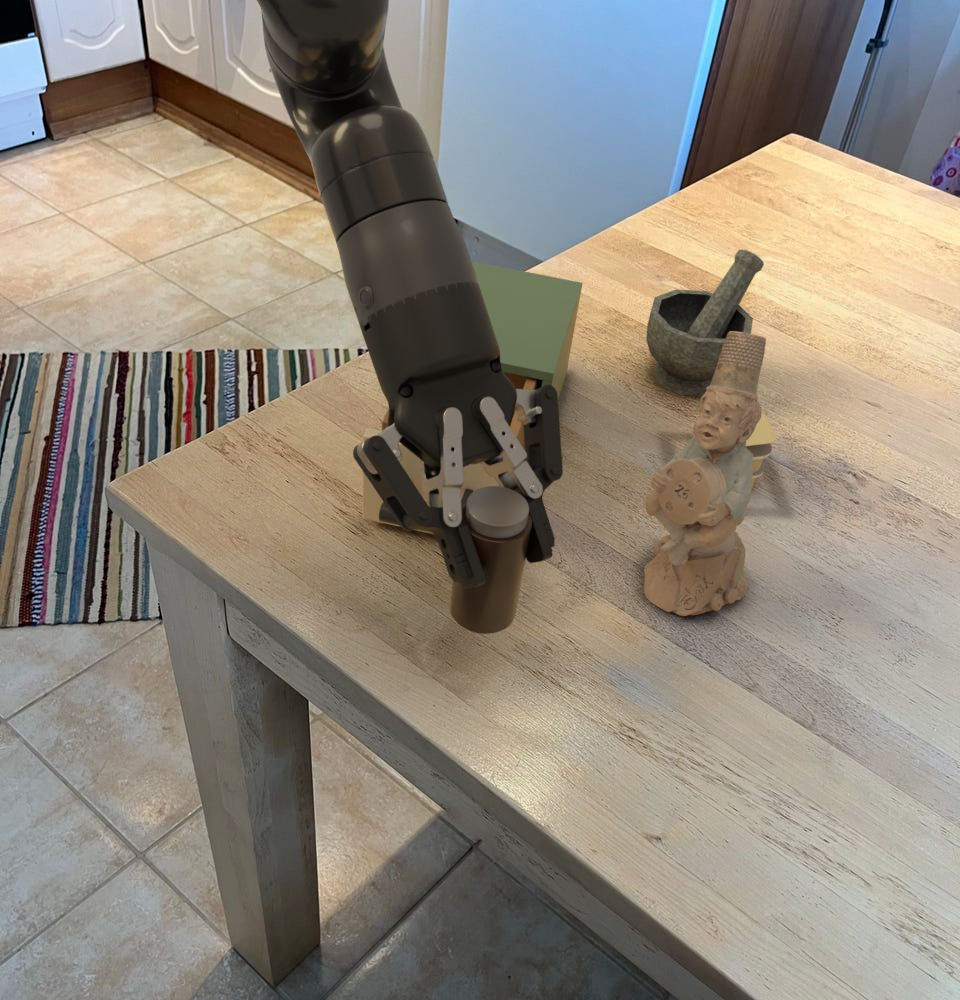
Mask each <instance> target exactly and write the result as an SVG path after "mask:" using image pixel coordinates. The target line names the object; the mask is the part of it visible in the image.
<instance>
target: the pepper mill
mask: <svg viewBox="0 0 960 1000" xmlns="http://www.w3.org/2000/svg"><path fill="white" fill-rule="evenodd" d="M461 524H462V526H465V525H468V526H469V529H470V532H471V535H472V538H473V541H474V544H475V547H476V550H477V553H478V556H479V559H480V562H481V565H482V568H483V571H484V574H485V578H486V582H485V584H482V585H480V586H477V587H475V588H469V589H464V588H463V587H462V586H461V584H460V582H454V581H453V580H452V586H451V593H450V594H451V595H450V602H449V611H450V612H449V613H450V615H451V617H452V619H453V620H454V621H455V623H457V624H458V625H459V627H462V629H465V630H467V631H468V632H472V633H475V634H481V635H488V634H489V635H491V634H495V633H499V632H503V631H504V630H506V629H508V627H510V626H511V625H512V623H513V622H514V620H515V618H516V613H517V607H518V602H519V596H520V590H521V586H522V580H523V575H524V569H525V564H526V560H527V559H526V553H527V548H528V542H529V537H530V531H531V526H532V520H531V516H530V514H529V506H528V503H527V501H526V500H525V498H524V497H523V496H522V495H520V494H519V493H517V492H516V491H514V490H511V489H509V488H505V487H499V486H488V487H483V488H480V489H478V490H476V491H474V492H473V493H472V494H471V495H470V496H469V497H468V499H467V503H466V505H465V506H464V507H463V508H462V521H461Z"/></svg>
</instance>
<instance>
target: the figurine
mask: <svg viewBox="0 0 960 1000" xmlns="http://www.w3.org/2000/svg"><path fill="white" fill-rule="evenodd" d="M766 344H767V338H766V337H764V336H761V335H757V334H753V333H751V334H749V333H744V332H737V331H736V332H735V331H730V332H728V334H727V337H726V339H725V342H724V345H723V347H722V351H721V353H720V357H719V360H718V364H717V367H716V370H715V373H714V376H713V378H712V381H711V383H710V386H708V387H707V388H706V392H705V394H703V395H701V396H700V399H699V404H700V405H699V407H700V410H699V412H700V413H699V415H698V417H697V419H696V421H695V422H694V424H693V428H692V433H693V435H692V438H691V439H689V441H688V442H687V443H686V444H685V445H684V446H683V447H682V448H681V449H680V450H679V451H677V452H675V454H674V455H673V458H672V459H670V460H669V461H668V462H667V463H666V464H664V466H662V467H661V468H660V469H659V470H656V471H655V473H654V474H653V476H652V479H651V485H650V486H651V488H652V489H653V490H652V491H651V492H650V493H649V494H648V495H647V496H646V498H645V511H646V513H647V514H648V515H649V516H650V517H653V516H654V517H655V519H656V520H658V522H659V523H660V524H661V525H662V526H663V528H664V529H666V531H668V533H669V534H668V535H666V536H663V537H662V538H661V539H660V540H659V542H658V545H656V546H655V547H654V550H653V553H654V555H655V557H653V558H652V559H651V560H650V561H648V562H647V563H646V564H645V566H644V569H643V573H644V583H643V593H644V596H645V598H646V599H647V600H648V601H649V602H650V603H651V604H652V605H654V606H656V607H658V609H661V610H663V611H665V612H667V613H672V612H673V613H674V614H676V615H678V616H680V617H685V616H697V615H701V614H705V613H706V612H712V611H714V612H718V611H720V610H721V609H722V607H723V606H725V605H727V604H733V603H735V602H736V601H740V600H741V599H742V598H744V596H745V595H746V593H748V590H749V587H750V586H749V584H748V578H747V575H746V572H745V570H744V569H745V560H746V548H745V545H744V543H743V541H742V539H741V538H740V536H739V534H738V532H736V530H737V527H738V526H740V525H741V524H742V523H743V522H744V520H745V517H747V516H748V504H749V502H750V499H751V494H752V489H751V485H752V477H753V466H752V465H753V453H751V452H750V451H749V450H748V449H747V448H746V447H745V446H746V440H748V439H749V438H750V436H751V435H752V433H753V432H754V430H755V428H756V424H757V423H758V422H759V420H760V418H761V414H762V411H763V409H762V405H761V403H760V402H759V401H758V399H759V396H758V395H757V393H758V387H759V386H758V385H759V380H760V375H761V369H762V366H763V362H764V356H765V352H766ZM761 409H762V410H761Z"/></svg>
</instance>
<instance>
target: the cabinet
mask: <svg viewBox="0 0 960 1000" xmlns="http://www.w3.org/2000/svg"><path fill="white" fill-rule="evenodd" d="M471 262H472V265H473V268H474V270H475V273H476V277H477V280H478V283H479V287H480V290H481V293H482V296H483V299H484V302H485V305H486V308H487V311H488V314H489V318H490V321H491V324H492V327H493V330H494V333H495V336H496V339H497V342H498V345H499V349H500V362H501V368H502V370H503V372H506V373H511V374H516V375H521V376H526V377H531V378H536V379H539V385H538V389H539V388H541V387H543V386H545V385H551V386H553V387H554V388H555V389H556V391H557V397H558V401H559V399H560V396H561V394H562V389H563V387H564V382H565V380H566V377H567V371H568V366H569V360H570V355H571V350H572V346H573V345H572V344H573V340H574V339H573V338H574V334H575V328H576V323H577V316H578V311H579V305H580V299H581V296H582V295H581V293H582V288H583V282H580V281H575V280H571V279H565V278H560V277H555V276H550V275H545V274H539V273H535V272H531V271H530V272H529V271H524V270H520V269H515V268H510V267H504V266H499V265H494V264H490V263H489V264H488V263H484V262H479V261H473V260H471Z"/></svg>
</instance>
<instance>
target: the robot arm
mask: <svg viewBox="0 0 960 1000" xmlns="http://www.w3.org/2000/svg"><path fill="white" fill-rule="evenodd" d="M256 2H257V3H258V6H259V8H260V11H261V22H262V23H261V24H262V35H263V43H264V48H265V53H266V57H267V61H268V64H269V67H270V70H271V73H272V76H273V79H274V82H275V85H276V88H277V91H278V93H279V95H280V98H281V100H282V103H283V106H284V108H285V110H286V112H287V114H288V117H289V119H290V121H291V123H292V126H293V128H294V131H295V133H296V135H297V136H298V138H299V141H300V144H301V145H302V147H303V149H304V151H305V153H306V155H307V157H308V159H309V161H310V164H311V167H312V171H313V175H314V180H315V184H316V187H317V190H318V194H319V198H320V199H321V202H322V205H323V208H324V211H325V214H326V217H327V220H328V223H329V225H330V229H331V232H332V235H333V238H334V241H335V243H336V248H337V251H338V254H339V259H340V263H341V269H342V274H343V278H344V282H345V287H346V290H347V293H348V296H349V299H350V301H351V305H352V307H353V310H354V313H355V316H356V319H357V322H358V325H359V328H360V330H361V333H362V336H363V340H364V343H365V346H366V349H367V352H368V354H369V357H370V360H371V364H372V367H373V369H374V372H375V375H376V378H377V380H378V384H379V387H380V390H381V392H382V393H383V395H384V397H385V399H386V401H387V405H388V409H389V415H388V427H387V428H386V429H384V430H383V431H382V430H381V432H380V433H378V434H377V435H376V436H372V437H370V438H368V439H366V440H364V441H363V440H362V441H361V442H359V444H357V445H355V446H354V448H353V450H352V455H353V459H354V460H355V462H356V463H357V464H358V466H359V468H360V469H361V471H362V473H363V472H364V474H365V475H366V477H367V478H368V479H369V481H370V482H371V484H372V485H373V487H374V488H375V490H376V491H377V493H378V494H379V496H380V497H381V499H382V500H383V502H384V503H385V505H386V506H387V508H388V509H389V511H390V512H391V514H392V515H393V517H394V518H395V520H396V521H397V522H398V524H399V525H400V527H399V528H401V529H402V530H403V531H406V532H411V531H417V530H428V531H430V532H432V533H433V534H432V535H434V536H435V538H436V540H437V543H438V547H439V549H440V552H441V555H442V559H443V560H444V564H445V567H446V570H447V573H448V576H449V577H450V578H451V580H452V582H453V581H454V582H460V584H461V586H462V587H463V588H464V589H469V588H475V587H477V586H480V585H482V584H485V582H486V578H485V574H484V571H483V568H482V565H481V562H480V559H479V556H478V553H477V550H476V547H475V544H474V541H473V538H472V535H471V532H470V529H469V526H468V525H465V526H462V524H461V521H462V508H461V487H462V485H463V482H464V475H463V467H465V466H468V465H469V464H478V463H481V465H482V466H483V468H484V469H485V471H486V472H487V474H488V475H489V476H491V477H493V478H495V479H496V481H497V482H498V484H499V485H500V487H505V488H509V489H511V490H514V491H516V492H517V493H519V494H520V495H522V496H523V497H524V498H525V500H526V501H527V503H528V506H529V514H530V516H531V520H532V526H531V531H530V537H529V542H528V548H527V553H526V559H525V560H527V562H528V563H530V564H534V563H540V562H544V561H546V560H549V559H551V558H552V557H553V554H554V553H553V547H555V538H556V537H555V534H554V532H553V529H552V526H551V523H550V520H549V516H548V513H547V510H546V507H545V503H544V499H543V497H544V496H543V495H544V492H545V491H546V489H547V488H549V486H551V485H552V484H553V483H554V482H555V481H558V480H560V479H561V478H562V476H563V473H564V471H563V456H562V441H561V428H560V427H561V426H560V413H559V400H558V397H557V391H556V389H555V388H554V387H553V386H551V385H545V386H543V387H541V388H539V389H537V390H530V389H515V386H514V385H513V383H512V382H511V381H510V380H509V379H508V378H507V376H506V375H505V374H504V372H503V370H502V368H501V362H500V349H499V345H498V342H497V339H496V336H495V333H494V330H493V327H492V324H491V321H490V318H489V314H488V311H487V308H486V305H485V302H484V299H483V296H482V293H481V290H480V287H479V283H478V280H477V277H476V273H475V270H474V268H473V265H472V262H471V261H472V259H471V255H470V253H469V249H468V247H467V244H466V241H465V239H464V237H463V234H462V232H461V230H460V228H459V226H458V223H457V222H456V220H455V218H454V214H453V212H452V209H451V207H450V205H449V201H448V198H447V195H446V192H445V189H444V186H443V183H442V180H441V176H440V173H439V170H438V167H437V164H436V162H435V161H436V160H435V158H434V155H433V152H432V149H431V147H430V144H429V141H428V139H427V136H426V133H425V132H424V130H423V128H422V126H421V124H420V122H419V120H417V119H416V118H415V116H414V115H413V114H412V113H411V112H409V111H407V110H406V109H404V108H403V106H402V103H401V101H400V98H399V95H398V93H397V90H396V87H395V84H394V82H393V79H392V76H391V72H390V70H389V66H388V62H387V57H386V52H385V47H384V42H385V41H384V40H385V32H386V26H387V22H388V13H389V4H390V0H256ZM514 409H515V411H516V412H517V415H518V416H517V420H518V421H519V422H521V423H522V424H523V427H524V441H525V450H524V448H523V447H522V445H521V443H520V442H519V440H518V439H517V437H516V436H515V434H514V433H513V431H512V429H511V428H510V426H511V422H512V417H513V413H514ZM399 442H400V443H401V444H402V445H403V446H405V447H406V448H407V449H408V450H409V451H411V452H412V453H413V454H414V455H416V456H417V457H418V458H419V459H420V463H421V481H422V491H423V493H424V494H425V496H426V502H425V500H424V499H423V497H422V496H421V494H420V493H419V491H418V489H417V488H416V486H415V485H414V483H413V482H412V480H411V479H410V477H409V476H408V474H407V473H406V471H405V470H404V468H403V467H402V465H401V464H400V462H401V460H402V454H401V451H400V449H399ZM500 453H501V454H502V455H501V454H500Z"/></svg>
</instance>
